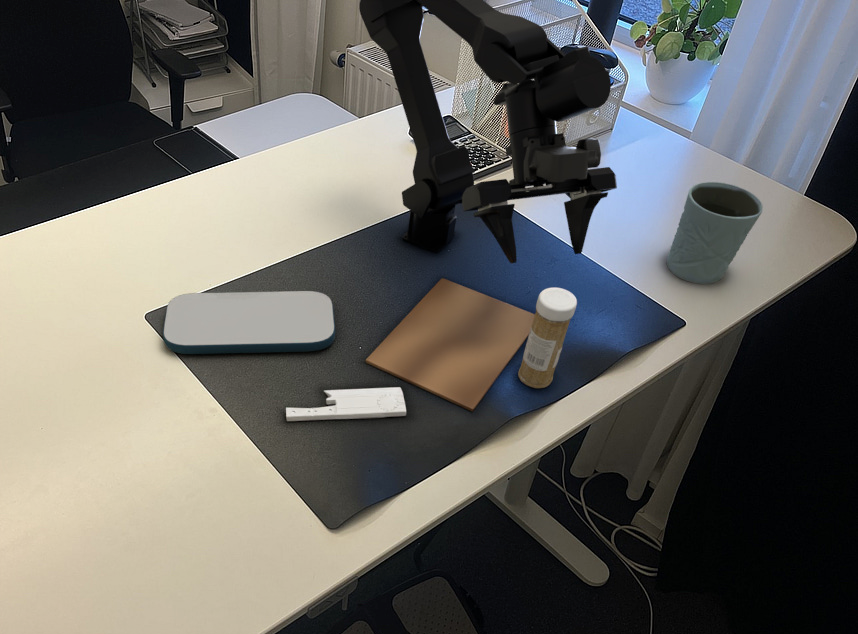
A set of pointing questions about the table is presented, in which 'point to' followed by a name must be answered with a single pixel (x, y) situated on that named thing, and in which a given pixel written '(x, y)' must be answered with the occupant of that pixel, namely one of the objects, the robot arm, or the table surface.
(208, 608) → the table surface
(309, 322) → the external hard drive
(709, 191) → the green ceramic cup
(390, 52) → the robot arm
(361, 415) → the white plastic blade
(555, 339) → the sprinkles bottle
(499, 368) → the cork placemat
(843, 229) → the table surface
